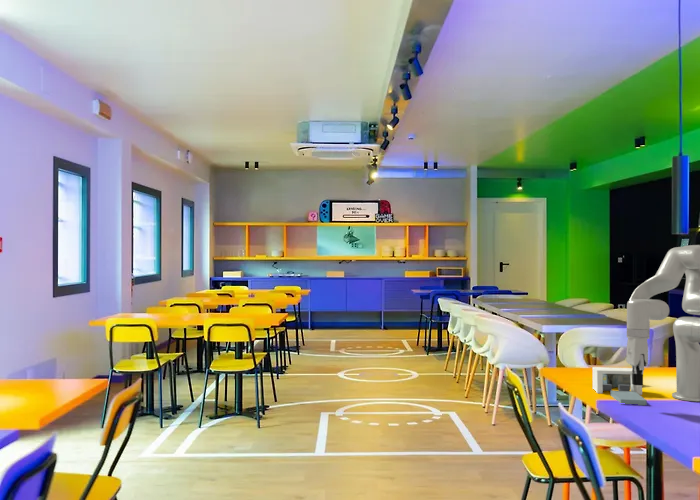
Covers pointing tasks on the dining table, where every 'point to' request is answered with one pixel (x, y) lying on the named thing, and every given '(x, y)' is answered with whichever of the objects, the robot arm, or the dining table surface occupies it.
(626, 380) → the beverage carton
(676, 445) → the dining table surface
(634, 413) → the dining table surface
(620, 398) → the panel
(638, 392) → the shelf
